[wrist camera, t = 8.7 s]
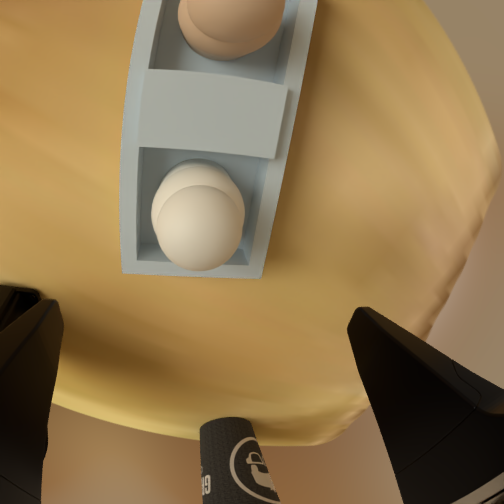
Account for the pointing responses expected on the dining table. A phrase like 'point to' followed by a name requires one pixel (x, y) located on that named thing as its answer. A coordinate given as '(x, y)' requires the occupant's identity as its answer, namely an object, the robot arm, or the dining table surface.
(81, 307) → the dining table surface
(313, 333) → the dining table surface
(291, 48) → the egg carton
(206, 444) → the coffee cup
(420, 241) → the dining table surface
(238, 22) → the brown egg
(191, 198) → the cream egg
